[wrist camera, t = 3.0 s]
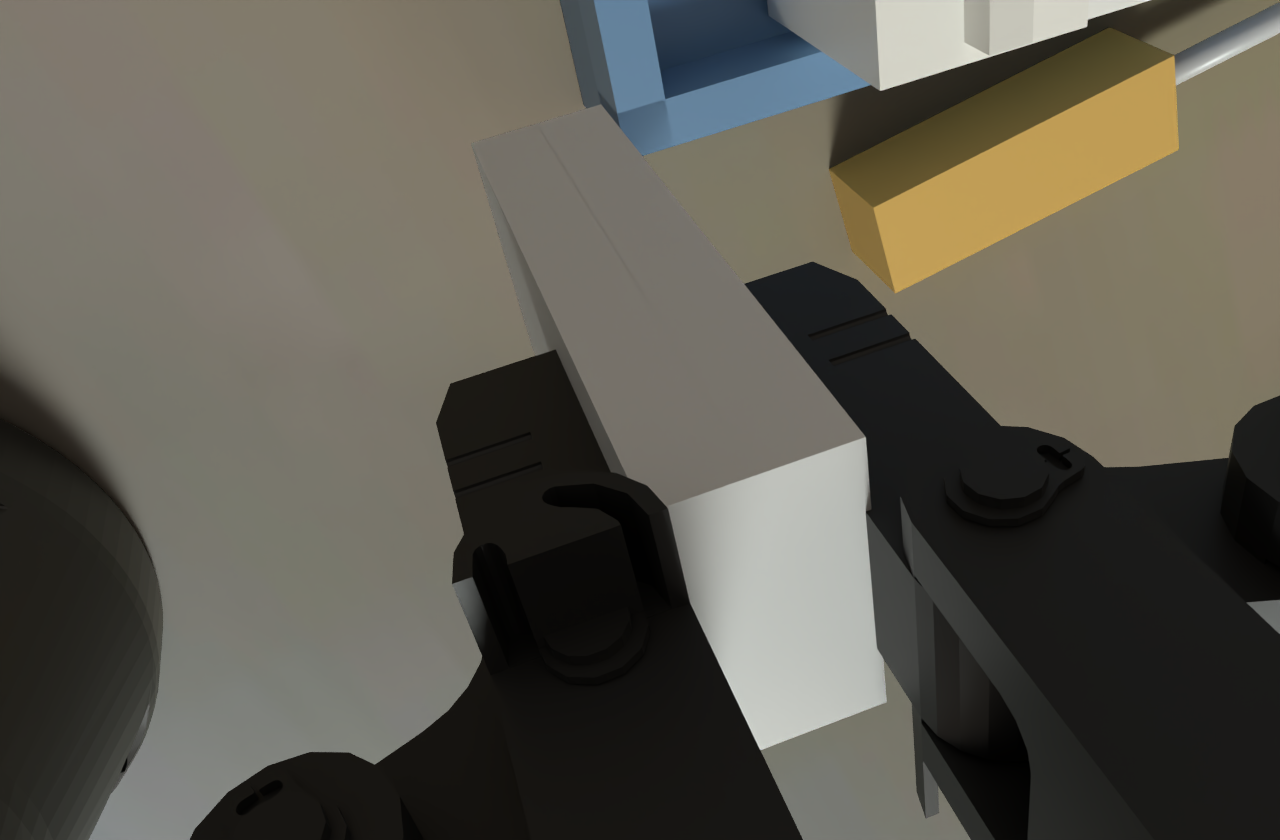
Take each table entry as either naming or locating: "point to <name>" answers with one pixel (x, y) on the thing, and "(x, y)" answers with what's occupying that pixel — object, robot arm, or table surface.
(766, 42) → the switch bank
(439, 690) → the table surface
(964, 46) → the tab
